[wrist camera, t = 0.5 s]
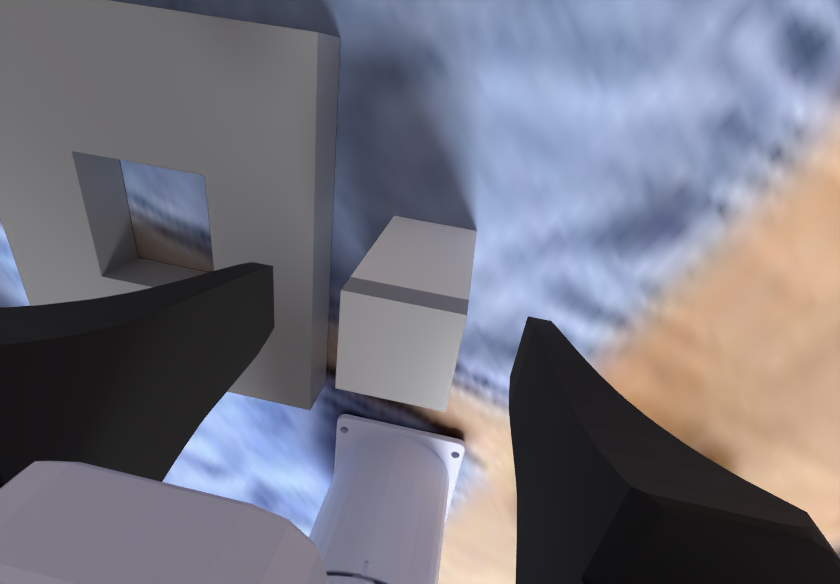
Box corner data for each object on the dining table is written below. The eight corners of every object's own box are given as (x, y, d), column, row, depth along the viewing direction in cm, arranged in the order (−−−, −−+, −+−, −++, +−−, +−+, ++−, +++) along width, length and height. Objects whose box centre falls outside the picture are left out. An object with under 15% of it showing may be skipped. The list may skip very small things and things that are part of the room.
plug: (461, 303, 22) (445, 412, 15) (385, 288, 22) (335, 388, 15) (476, 230, 20) (466, 315, 13) (394, 215, 20) (340, 290, 13)
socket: (325, 381, 26) (310, 409, 24) (82, 328, 27) (45, 350, 25) (340, 37, 17) (318, 32, 15) (-16, -18, 19) (-85, -30, 16)
